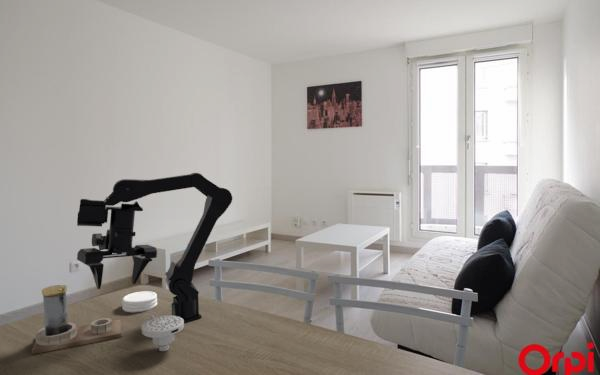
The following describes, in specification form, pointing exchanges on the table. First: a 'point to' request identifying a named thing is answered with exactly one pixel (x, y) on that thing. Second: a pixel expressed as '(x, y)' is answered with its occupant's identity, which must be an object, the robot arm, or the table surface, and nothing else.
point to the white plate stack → (139, 301)
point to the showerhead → (162, 329)
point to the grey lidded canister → (55, 310)
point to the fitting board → (78, 335)
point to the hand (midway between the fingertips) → (116, 286)
